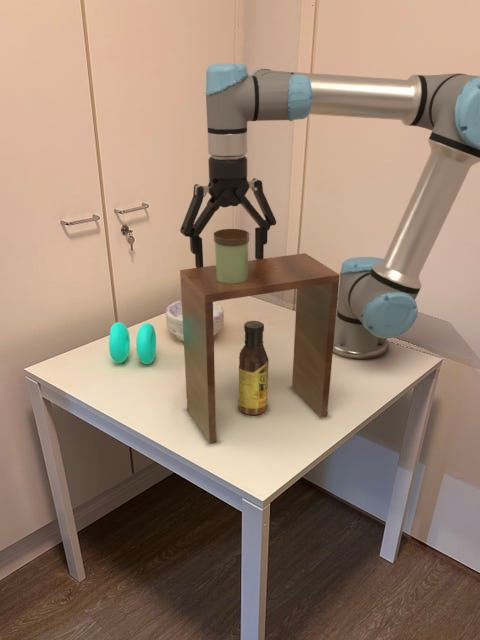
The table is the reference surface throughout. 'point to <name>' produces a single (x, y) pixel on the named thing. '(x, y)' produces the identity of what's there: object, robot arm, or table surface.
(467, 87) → the robot arm
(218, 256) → the spice jar
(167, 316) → the paper bowls
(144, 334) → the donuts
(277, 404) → the table surface
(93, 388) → the table surface
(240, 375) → the sauce bottle
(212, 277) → the shelf
